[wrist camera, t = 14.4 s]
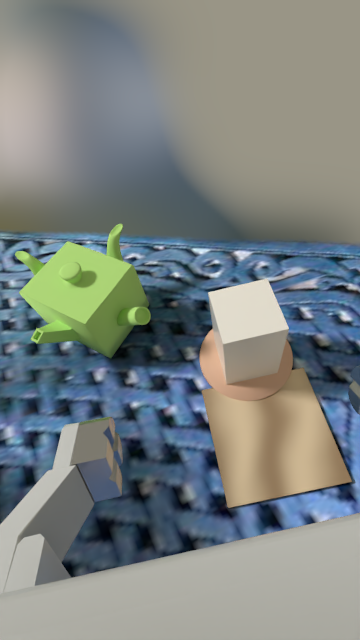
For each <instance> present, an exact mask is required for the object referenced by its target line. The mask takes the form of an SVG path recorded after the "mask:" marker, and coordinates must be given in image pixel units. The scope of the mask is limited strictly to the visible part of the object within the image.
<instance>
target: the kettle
mask: <svg viewBox="0 0 360 640" xmlns="http://www.w3.org/2000/svg"><path fill="white" fill-rule="evenodd" d="M122 228H123V225H122V224H118V225H117V226H116V227H114V228H113V230H112V231H111V233H110V235H109V238H108V243H107V255H104V254H102V253H99V252H96V251H94V250H91V249H88V248H85V247H82V246H80V245H77V244H74V243H71V242H68V241H67V243H66V244H65V245H64V246H63V247H62V248H61V249H60V250H59V251H58V252H57V253H56V254H55V255H54V256H53V257H52V258H51V259H50V260H49V261H48V262H47V263H46V264H43V263H42V262H40V261H39V260H37V259H36V258H34V257H33V256H31V255H30V254H28V253H26V252H23V251H18V252H16V253H15V255H16V257H17V258H18V259H19V260H20V261H22V262H23V263H24V264H26V265H27V266H28V267H29V269H30V270H31V271H32V272H33V274H34V275H35V276H34V277H33V278H32V279H31V280H30V281H29V282H28V284H27V285H26V286H25V287H24V288H23V289H22V290H21V291H20V292H19V294H20V295H21V296H22V297H23V298H24V299H25V300H26V301H27V302H28V303H29V304H30V305H31V306H32V307H33V308H34V309H35V310H36V311H37V313H38V314H39V315H40V316H41V317H42V318H43V319H44V320H45V321H46V322H47V323H48V325H46V326H44V327H41V328H39V329H38V328H37V329H36V331H35V332H34V334H33V336H32V338H31V340H32V341H34V342H36V343H38V344H42V343H54V342H65V341H78V342H80V343H82V344H84V345H86V346H88V347H89V348H91V349H93V350H95V351H97V352H99V353H101V354H103V355H105V356H107V357H109V358H112V356H113V355H114V354H115V352H116V351H117V349H118V348H119V347H120V345H121V344H122V342H123V341H124V340H125V338H126V337H127V336H128V334H129V333H130V331H131V330H132V329H133V327H134V326H135V325H145V324H147V323H148V322H149V321H150V318H151V314H150V311H149V310H148V309H147V308H148V306H149V303H148V300H147V298H146V295H145V293H144V290H143V288H142V285H141V283H140V280H139V278H138V275H137V273H136V270H135V268H134V266H133V265H131V264H128V263H126V262H123V258H122V255H121V252H120V247H119V239H120V234H121V231H122Z"/></svg>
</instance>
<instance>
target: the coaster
mask: <svg viewBox="0 0 360 640" xmlns="http://www.w3.org/2000/svg"><path fill="white" fill-rule="evenodd" d="M200 366H201V369H202V373H203V375H204V377H205V379H206V380H207V382H208V383H209V385H210V386H211V387H212V388H214V389H215V390H217V391H218V392H220V393H221V394H223V395H225V396H227V397H230V398H232V399H236V400H242V401H254V400H260V399H263V398H266V397H268V396H271V395H272V394H274V393H275V392H277V391H278V390H279V389H280V388H281V387H282V386H283V385H284V384H285V383H286V381H287V380H288V378H289V376H290V374H291V370H292V366H293V355H292V350H291V347H290V344H289V342H288V340H287V339H286V342H285V346H284V350H283V354H282V358H281V362H280V365H279V369H278V373H275V374H271V375H266V376H262V377H258V378H253V379H249V380H244V381H240V382H235V383H231V384H227V385H226V381H225V377H224V373H223V370H222V366H221V362H220V359H219V355H218V351H217V348H216V344H215V340H214V333H213V329H212V330H211V331H210V332H209V333H208V334H207V336H206V337H205V339H204V341H203V343H202V345H201V349H200Z"/></svg>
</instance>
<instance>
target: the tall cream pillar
mask: <svg viewBox="0 0 360 640" xmlns="http://www.w3.org/2000/svg"><path fill="white" fill-rule="evenodd" d="M208 295H209V302H210V310H211V318H212V325H213V333H214V340H215V344H216V348H217V351H218V355H219V359H220V362H221V366H222V370H223V373H224V377H225V381H226V385H227V384H231V383H235V382H240V381H244V380H249V379H253V378H258V377H262V376H266V375H271V374H275V373H278V369H279V365H280V362H281V358H282V354H283V350H284V346H285V342H286V338H287V335H288V331H289V328H288V326H287V323H286V321H285V319H284V316H283V314H282V312H281V309H280V307H279V305H278V302H277V300H276V298H275V295H274V293H273V291H272V289H271V286H270V284H269V282H268V279H263V280H259V281H255V282H251V283H246V284H242V285H238V286H234V287H230V288H225V289H221V290H217V291H213V292H208Z"/></svg>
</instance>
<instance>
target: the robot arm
mask: <svg viewBox="0 0 360 640" xmlns="http://www.w3.org/2000/svg"><path fill="white" fill-rule="evenodd" d="M351 377H352V378H353V380H354V381H353V383H352V384H351V385H350V386H349V392H348V395H349V399H350V403H351V404H352V406H353V408H354V409H355V411H356V412H357V413H358V414H359V415H360V366H357V367H354V368H353V370H352V372H351ZM122 459H123V455H122V445H121V441H120V437H119V434H117V433H116V432H115V423H114V420H113V418H112V417H106V418H100V419H95V420H89V421H84V422H80V423H74V424H69V425H65V426H64V427H63V429H62V432H61V436H60V440H59V444H58V448H57V452H56V456H55V461H54V465H53V469H52V470H49V471H47V472H46V473H45V474H44V475H43V477H42V478H41V479H40V480H39V481H38V482H37V483H36V485H35V486H34V487H33V488H32V489H31V490H30V491H29V493H28V494H27V495H26V496H25V497H24V498H23V499H22V500H21V502H20V503H19V504H18V505H17V506H16V507H15V508H14V510H13V511H12V512H11V513H10V514H9V515H8V516H7V518H6V519H5V520H4V521H3V522H2V523H1V524H0V640H360V513H358V514H353V515H349V516H344V517H340V518H336V519H331V520H327V521H322V522H318V523H313V524H309V525H304V526H300V527H296V528H291V529H287V530H282V531H278V532H273V533H269V534H264V535H260V536H256V537H251V538H247V539H242V540H238V541H233V542H229V543H224V544H220V545H215V546H211V547H207V548H202V549H198V550H193V551H189V552H184V553H180V554H175V555H171V556H166V557H162V558H157V559H153V560H148V561H144V562H140V563H135V564H131V565H126V566H122V567H117V568H113V569H108V570H104V571H99V572H95V573H90V574H86V575H81V576H77V577H72V578H71V577H70V575H69V574H68V572H67V571H66V569H65V568H64V566H63V565H62V563H61V562H62V560H63V559H64V557H65V555H66V553H67V552H68V550H69V548H70V546H71V545H72V543H73V541H74V539H75V538H76V536H77V534H78V532H79V531H80V529H81V527H82V525H83V523H84V522H85V520H86V518H87V516H88V515H89V513H90V511H91V509H92V508H93V506H94V502H98V501H102V500H106V499H111V498H115V497H119V496H121V493H122V474H121V472H120V469H119V468H120V466H121V465H122Z"/></svg>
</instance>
